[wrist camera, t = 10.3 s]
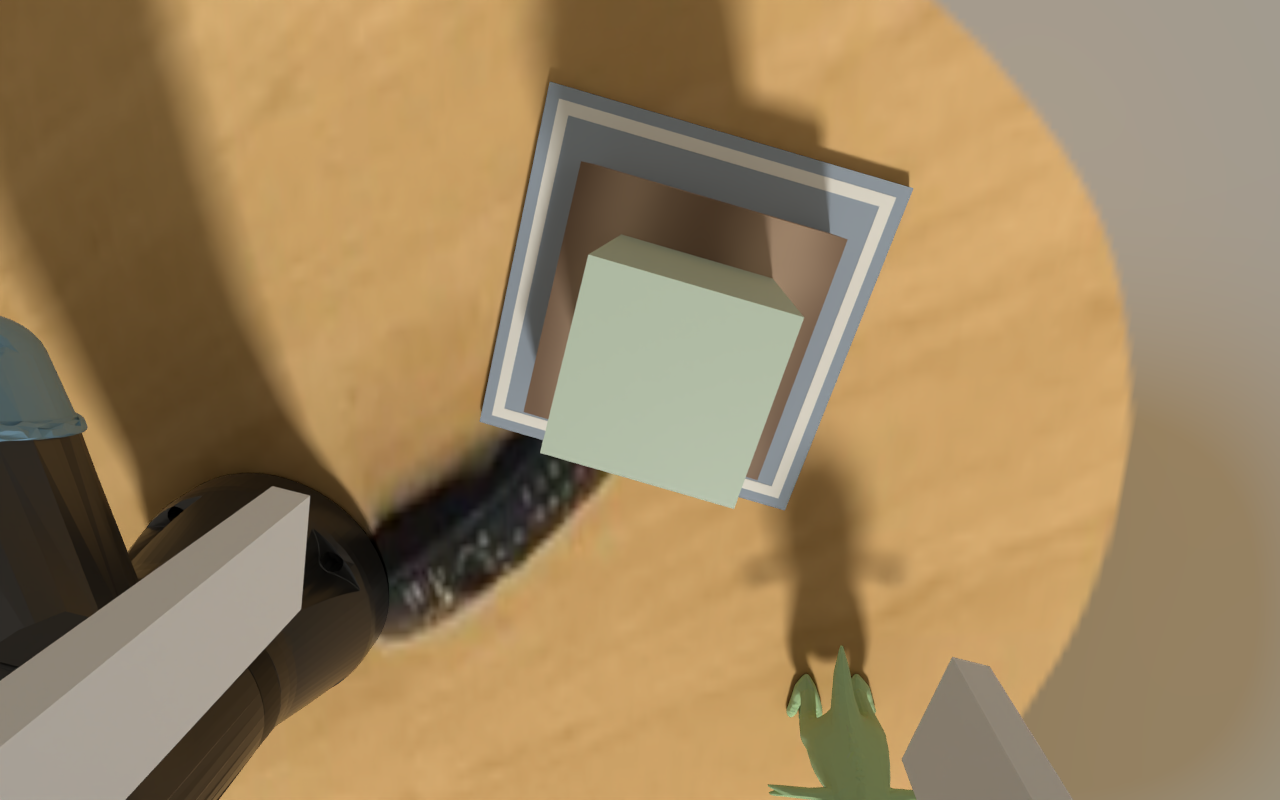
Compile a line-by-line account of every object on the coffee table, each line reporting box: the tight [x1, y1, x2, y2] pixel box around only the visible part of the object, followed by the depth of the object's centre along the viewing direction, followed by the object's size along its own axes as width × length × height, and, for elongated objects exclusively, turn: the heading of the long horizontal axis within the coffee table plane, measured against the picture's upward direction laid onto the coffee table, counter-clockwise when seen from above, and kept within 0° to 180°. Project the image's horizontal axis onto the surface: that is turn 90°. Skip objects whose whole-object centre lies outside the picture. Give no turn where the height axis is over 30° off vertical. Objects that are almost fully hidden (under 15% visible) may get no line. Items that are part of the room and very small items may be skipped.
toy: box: [768, 646, 917, 800], centre depth 34 cm, size 7×8×15 cm
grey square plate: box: [480, 82, 913, 510], centre depth 34 cm, size 18×18×1 cm
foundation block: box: [524, 161, 848, 480], centre depth 32 cm, size 12×12×4 cm
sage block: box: [540, 234, 804, 509], centre depth 25 cm, size 7×7×9 cm
